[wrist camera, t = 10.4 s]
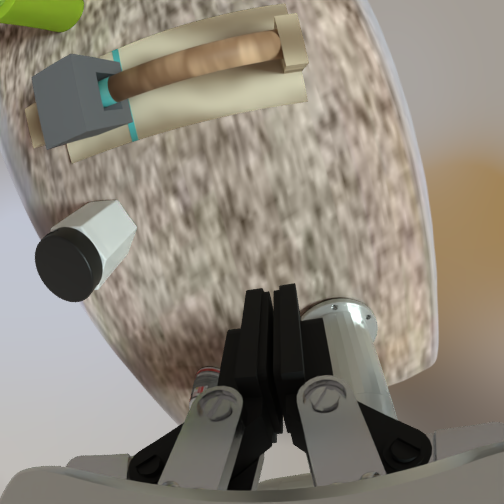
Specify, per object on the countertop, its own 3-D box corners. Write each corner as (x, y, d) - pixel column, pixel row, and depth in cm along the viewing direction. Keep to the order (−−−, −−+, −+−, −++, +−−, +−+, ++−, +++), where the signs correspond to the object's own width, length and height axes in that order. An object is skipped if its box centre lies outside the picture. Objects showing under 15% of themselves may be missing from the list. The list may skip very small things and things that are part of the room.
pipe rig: (307, 101, 31) (316, 100, 25) (75, 162, 36) (41, 176, 29) (285, 5, 26) (288, -18, 20) (56, 81, 31) (19, 82, 24)
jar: (92, 186, 37) (38, 219, 26) (143, 212, 38) (100, 255, 28) (78, 240, 41) (31, 283, 30) (124, 266, 42) (85, 317, 31)
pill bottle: (189, 370, 50) (177, 415, 42) (217, 361, 49) (208, 409, 40) (208, 389, 53) (198, 434, 44) (235, 382, 51) (229, 429, 42)
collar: (133, 122, 31) (86, 131, 22) (97, 135, 32) (46, 149, 23) (119, 62, 28) (70, 53, 19) (84, 78, 29) (31, 77, 20)
